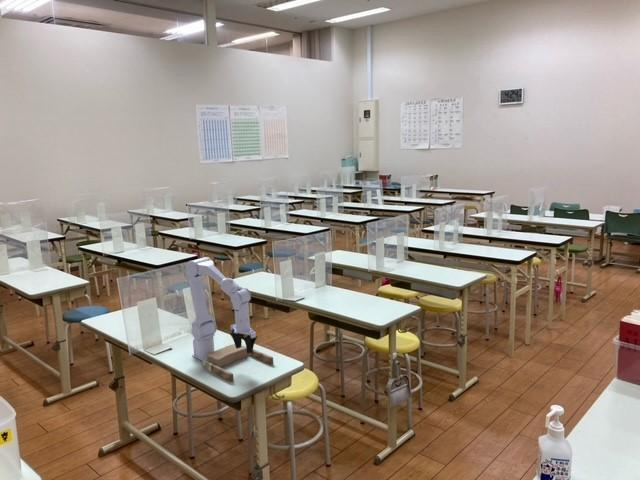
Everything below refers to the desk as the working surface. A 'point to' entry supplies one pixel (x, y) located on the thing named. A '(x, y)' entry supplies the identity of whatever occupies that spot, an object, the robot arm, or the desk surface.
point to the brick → (227, 355)
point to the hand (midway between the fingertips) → (244, 350)
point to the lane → (229, 375)
